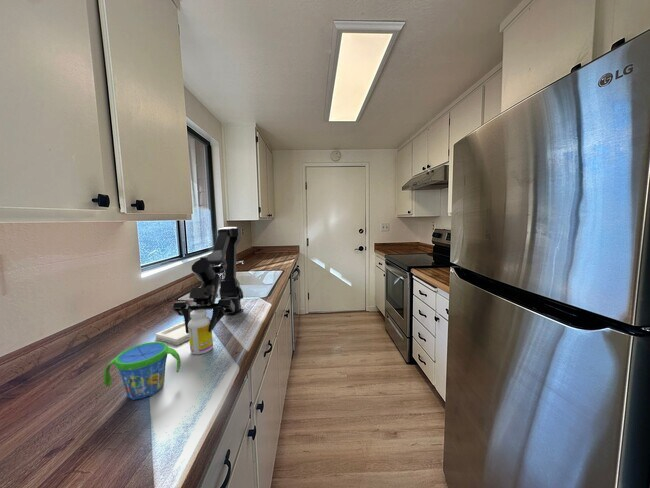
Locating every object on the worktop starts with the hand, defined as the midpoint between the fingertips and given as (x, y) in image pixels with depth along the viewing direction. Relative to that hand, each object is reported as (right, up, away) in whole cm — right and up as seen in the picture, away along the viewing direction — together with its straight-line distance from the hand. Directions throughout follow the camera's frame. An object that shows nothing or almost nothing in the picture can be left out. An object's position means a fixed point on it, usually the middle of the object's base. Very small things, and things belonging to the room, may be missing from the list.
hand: (198, 332), depth 79 cm
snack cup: (-4, -9, -17) cm, 19 cm away
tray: (-13, -6, +14) cm, 20 cm away
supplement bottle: (0, -7, +2) cm, 7 cm away
